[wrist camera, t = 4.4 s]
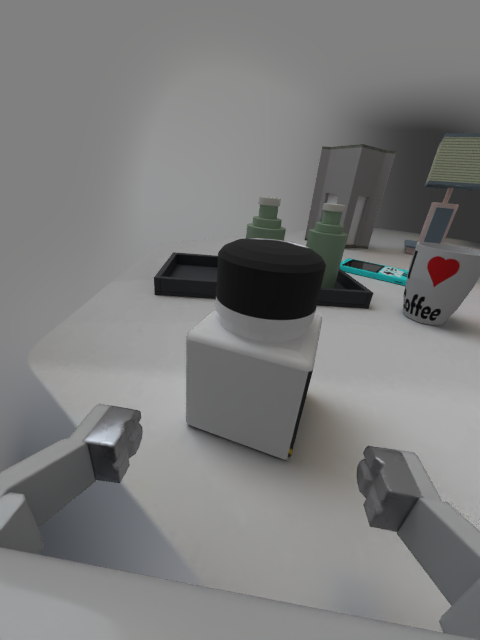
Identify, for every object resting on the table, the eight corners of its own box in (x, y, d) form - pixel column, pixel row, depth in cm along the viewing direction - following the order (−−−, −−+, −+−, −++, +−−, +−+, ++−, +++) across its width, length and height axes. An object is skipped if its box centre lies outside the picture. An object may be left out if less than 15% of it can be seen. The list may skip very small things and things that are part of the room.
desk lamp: (453, 261, 83) (510, 134, 69) (402, 253, 89) (444, 133, 74) (446, 253, 98) (491, 146, 83) (402, 246, 103) (437, 145, 89)
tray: (154, 294, 38) (153, 277, 37) (173, 265, 52) (173, 252, 51) (368, 308, 41) (373, 292, 40) (331, 277, 55) (335, 264, 54)
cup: (380, 307, 42) (403, 241, 37) (418, 305, 44) (444, 242, 40) (427, 332, 35) (462, 255, 30) (469, 328, 38) (507, 256, 33)
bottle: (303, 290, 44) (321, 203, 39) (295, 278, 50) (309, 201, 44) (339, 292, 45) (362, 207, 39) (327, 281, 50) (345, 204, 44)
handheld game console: (414, 288, 53) (417, 281, 52) (334, 269, 61) (335, 263, 60) (419, 278, 60) (421, 272, 60) (347, 262, 68) (348, 257, 68)
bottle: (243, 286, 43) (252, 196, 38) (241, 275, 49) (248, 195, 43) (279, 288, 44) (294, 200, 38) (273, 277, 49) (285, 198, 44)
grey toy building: (366, 247, 92) (394, 151, 80) (370, 252, 84) (402, 146, 72) (305, 239, 97) (322, 147, 85) (302, 243, 89) (321, 141, 76)
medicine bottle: (288, 464, 16) (339, 269, 11) (183, 425, 18) (183, 243, 13) (304, 391, 22) (341, 243, 17) (224, 368, 24) (235, 228, 19)
